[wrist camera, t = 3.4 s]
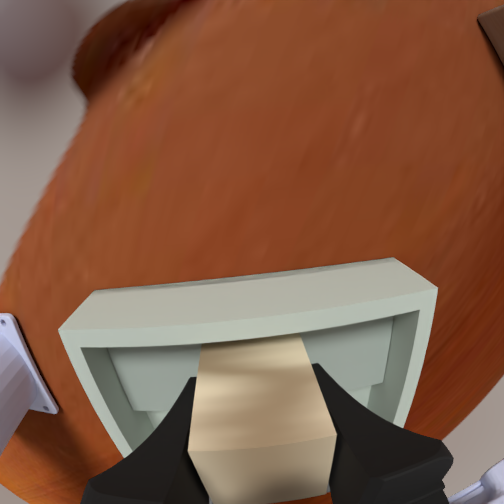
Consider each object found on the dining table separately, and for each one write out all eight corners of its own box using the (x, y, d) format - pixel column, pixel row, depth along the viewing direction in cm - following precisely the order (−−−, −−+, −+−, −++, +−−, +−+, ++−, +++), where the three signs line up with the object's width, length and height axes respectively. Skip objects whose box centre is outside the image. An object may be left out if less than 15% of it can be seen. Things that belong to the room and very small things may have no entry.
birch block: (217, 402, 14) (214, 506, 8) (202, 337, 12) (187, 450, 7) (298, 393, 14) (325, 494, 8) (296, 326, 13) (337, 434, 7)
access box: (155, 444, 17) (146, 488, 13) (94, 290, 14) (57, 329, 10) (369, 419, 18) (389, 460, 14) (393, 257, 14) (438, 287, 10)
